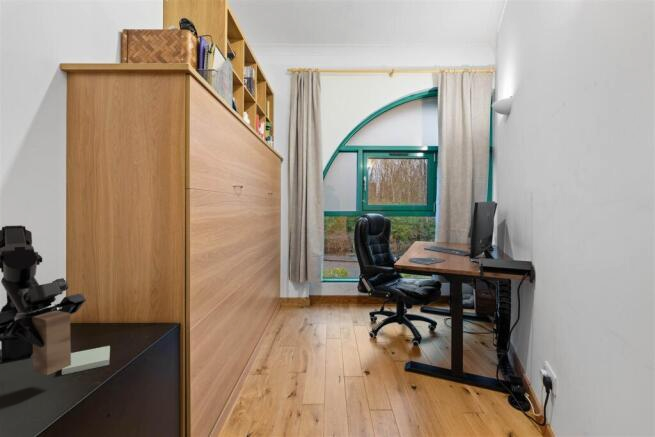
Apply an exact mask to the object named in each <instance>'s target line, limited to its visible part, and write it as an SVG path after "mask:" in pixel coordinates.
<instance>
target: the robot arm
mask: <svg viewBox="0 0 655 437" xmlns="http://www.w3.org/2000/svg"><path fill="white" fill-rule="evenodd" d="M32 236H33V235H32V231H31V230H28V229H26V226H24V225H23V224H22V225H5V226H1V229H0V272H1V273H2V274H3V277H2V278H1V281H0V282H1V285H2V286H3V288H4V290H5V292H6V303H5V305H3V306H2V308H1V309H0V344H1V345H0V348H1V359H0V364H7V363H11V362H17V361H22V360H27V359H30V358H33V344H34V345H36V346H38V347H43V346H44V342H43V340H42V338H41V336H40V335H39V333H38V332H37V330H36V329H35V327H34V326H33V323H32V317H34V316H38V315H42V314H45V313H49V312H53V311H62V312H67V313H70V315H73V314H75V313H77V312H78V311H79V310H80V309H81V307H82V306H83V305H84V303H85V302H86V301H87V299H86V298H85V297H84V295H83V294H82V293H75V294H71V295H66V296H64V297H63V298H62V300H61V301H60V302H59V303H57V304H52V303H54V302H55V301H56V300H57V299H56V297H57V296H59V295H63V292H65V291H67V290H68V289H69V285H68V282H67V281H66V280H65V279H64V278H63V277H61V278H57V279H55V280H52V282H48V283H41V284H39V282H38V281H37V279H36V274H37V273H36V272H37V266H40V263H43V257H42V256H41V255H40V254H39V252H38V251H35V249H34V246H33V237H32Z"/></svg>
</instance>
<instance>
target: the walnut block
mask: <svg viewBox="0 0 655 437" xmlns="http://www.w3.org/2000/svg"><path fill="white" fill-rule="evenodd" d="M32 323H33V326H34V327H35V329H36V330H37V332H38V333H39V335H40V336H41V338H42V340H43V342H44V346H43V347H38V346H36V345H34V344H33V355H32V364H33V365H32V366H33V371H32V372H34V373H37V374H42V375H45V376H49V375H51V374H53V373H56V372H58V371H62V369H63V368H65V367H67V366H70V365H71V353H72V351H71V350H72V349H71V346H72V345H71V314H70V313H67V312H62V311H53V312H49V313H45V314H42V315H38V316H34V317H32Z"/></svg>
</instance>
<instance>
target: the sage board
mask: <svg viewBox="0 0 655 437" xmlns="http://www.w3.org/2000/svg"><path fill="white" fill-rule="evenodd" d="M110 354H111V346H110V345H107V346H101V347H96V348H92V349H91V348H90V349H85V350H80V351H75V352H71V365H70V366H67V367H65V368H63V369H61V375H62V376H63V375H69V374H73V373H78V372H82V371H87V370H91V369H95V368H96V369H97V368H100V367H105V366H108V365H109V366H110Z"/></svg>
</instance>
